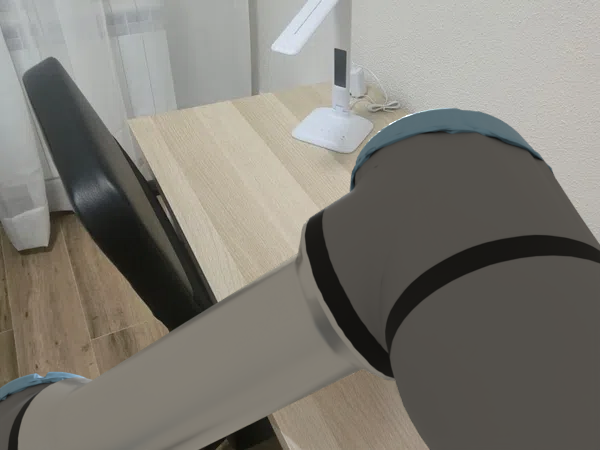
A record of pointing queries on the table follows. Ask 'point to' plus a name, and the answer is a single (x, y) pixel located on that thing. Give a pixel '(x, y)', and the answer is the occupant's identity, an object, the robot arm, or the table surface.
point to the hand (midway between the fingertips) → (423, 304)
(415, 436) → the table surface
